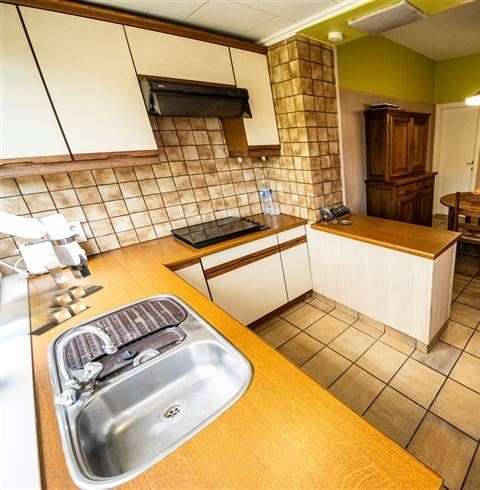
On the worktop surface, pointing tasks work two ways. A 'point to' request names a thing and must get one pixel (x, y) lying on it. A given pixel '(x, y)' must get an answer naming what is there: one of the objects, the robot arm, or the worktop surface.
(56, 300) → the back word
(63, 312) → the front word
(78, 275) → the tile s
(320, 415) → the worktop surface
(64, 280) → the sprinkles bottle
